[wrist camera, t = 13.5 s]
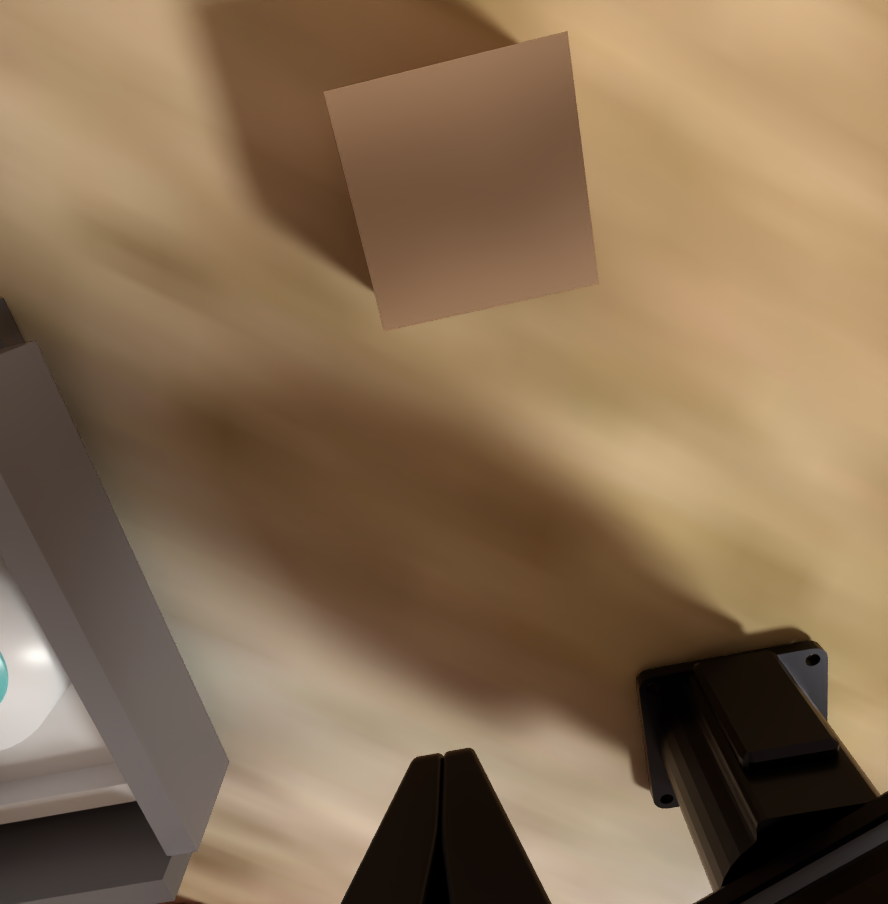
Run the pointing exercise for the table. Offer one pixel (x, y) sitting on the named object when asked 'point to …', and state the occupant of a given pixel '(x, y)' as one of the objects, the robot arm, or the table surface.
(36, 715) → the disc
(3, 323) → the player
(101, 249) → the table surface
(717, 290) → the table surface
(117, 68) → the table surface
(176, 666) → the tray
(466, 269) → the block
